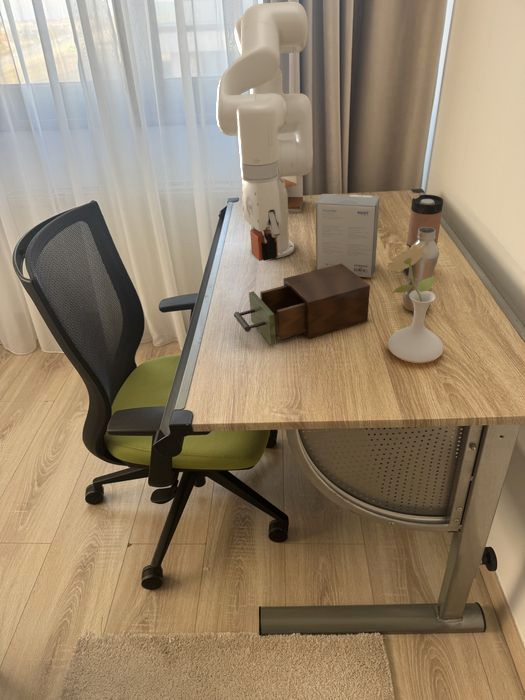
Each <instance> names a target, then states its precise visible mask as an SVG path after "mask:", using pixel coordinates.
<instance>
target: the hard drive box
mask: <svg viewBox="0 0 525 700" xmlns="http://www.w3.org/2000/svg"><path fill="white" fill-rule="evenodd" d="M380 198H381V196H380V195H369V194H339V193H321V195H320V196H319V197H318V199H317V200H316V202H315V263H316V265H315V270H318V269H322V268H326V267H330V266H334V265H338V264H343V265H344V266H345V267H347V268H348V269H349V270H351V271H352V272H353V273H355V274H356V275H357V276H359V277H360V278H372V277H373V274H374V271H375V269H376V263H377V262H376V260H377V259H376V258H377V244H378V230H379V215H380V214H379V213H380Z"/></svg>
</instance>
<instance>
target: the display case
mask: <svg viewBox="0 0 525 700" xmlns="http://www.w3.org/2000/svg"><path fill="white" fill-rule="evenodd" d="M277 139H296V136H295V135H294V134H292V133H286V134H277ZM278 178H279V180H280V181H281V182H282V183H283V184H284V186H285V188H286V190H287V195H288V213H301V211H302V208H303V203H304V179H303V178H304V175H302V176H285V177H278Z"/></svg>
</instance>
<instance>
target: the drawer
mask: <svg viewBox="0 0 525 700" xmlns="http://www.w3.org/2000/svg"><path fill="white" fill-rule="evenodd" d="M259 295H260V297H259ZM259 295H258V294H257V293H256V292H255V291H254V290H252V291H249V292H248V299H249V309H248V310H244V311H240V312H239V311H235V312H234V313H233V317H234V318H235V320H236V321H237V322H238V324H239V325H240V326H241V327H242V329H243V330H244V331H245V332H247V333H249V332H251V330H252V329H255V328H256V329H257V330H258V331H259V332H260V334H261V335H262V336H263V338H264V339H265V340H266V342H267V343H268V344H269V345H270V346H273V345H276V342H277V341H276V337H277V338H278V339H279V340H283V339H287V338H290V337H293V336H297V335H301V334H303V333H304V332H307V304H306V303H305V302H304V301H303V300H302V299H301V298H300V297H299V296H298V295H297V294H296V293H295V292H294V291H293V290H292V289H291V288H290V287H289V286H288V285H284V284H283V285H281V286H277V287H273V288H270V289H266V290H263V291H260V292H259ZM246 315H250V321H251V323H252V324H251V325H250V324H249V323H248V322H247V321H246V319H245V318H244V317H243V316H246Z"/></svg>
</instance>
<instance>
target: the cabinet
mask: <svg viewBox="0 0 525 700" xmlns="http://www.w3.org/2000/svg"><path fill="white" fill-rule="evenodd" d="M284 285H288V286H289V287H290V288H291V289H292V290H293V291H294V292H295V293H296V294H297V295H298V296H299V297H300V298H301V299H302V300H303V301H304V302H305V303H306V304H307V332H304V333H302V334H303V335H304V336H305V337H306V339H308V340H310V339H314V338H317V337H321V336H324V335H328V334H330V333H333V332H337V331H340V330H344V329H346V328H347V329H348V328H350V327H353V326H357V325H360V324H363V323H366V322H368V320H369V307H370V306H369V305H370V293H371V284H369V283H368V282H367V281H365V280H364V279H363V278H362V277H359V276H357V275H356V274H355V273H353V272H352V271H351V270H349V269H348V268H347V267H345V266H344V265H343V264H338V265H334V266H330V267H326V268H322V269H318V270H316V269H314V270H311V271H308V272H304V273H299V274H295V275H291V276H288V277H284V278H283V286H284Z"/></svg>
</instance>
